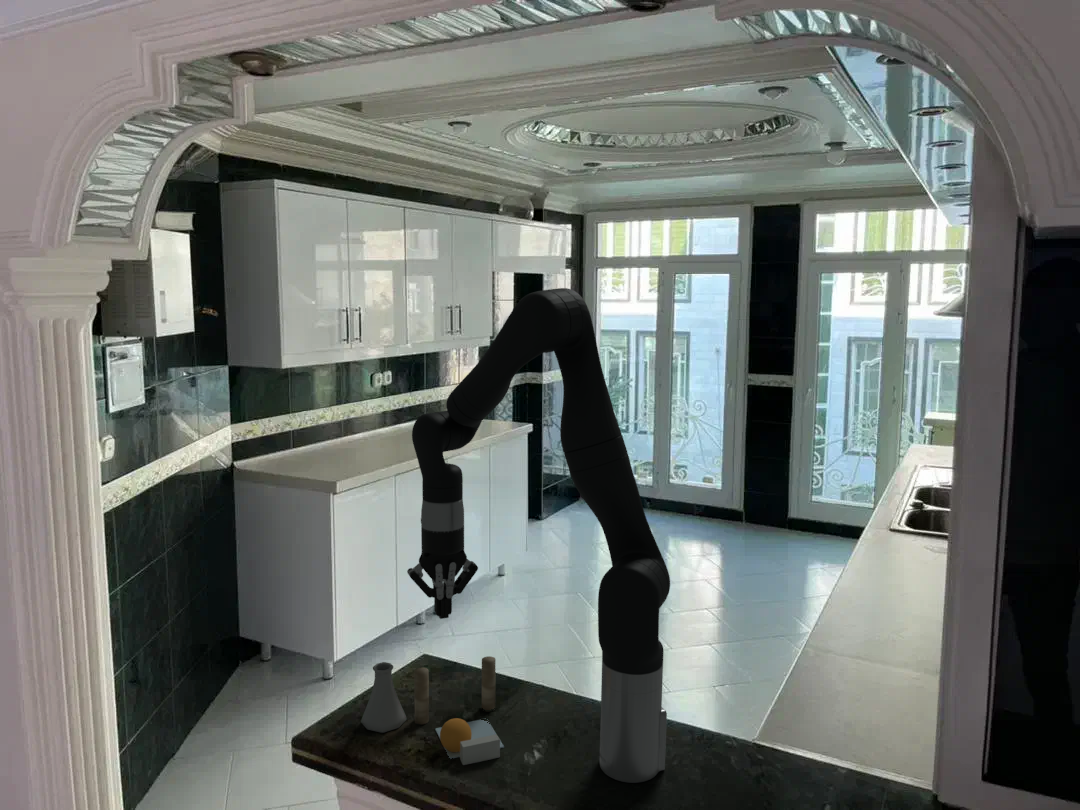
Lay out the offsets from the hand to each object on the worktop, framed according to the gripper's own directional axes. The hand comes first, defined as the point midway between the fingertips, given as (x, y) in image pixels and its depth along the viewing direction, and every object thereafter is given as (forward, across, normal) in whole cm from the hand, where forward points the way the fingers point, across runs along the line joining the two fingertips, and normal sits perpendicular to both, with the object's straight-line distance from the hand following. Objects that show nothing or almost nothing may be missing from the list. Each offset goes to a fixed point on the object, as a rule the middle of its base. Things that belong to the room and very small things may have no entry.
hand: (443, 616), depth 142 cm
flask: (+15, -12, -6) cm, 20 cm away
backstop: (+14, 0, -22) cm, 26 cm away
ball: (+12, -3, -18) cm, 22 cm away
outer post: (+14, -6, -8) cm, 18 cm away
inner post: (+14, +6, -8) cm, 18 cm away
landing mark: (+14, 0, -16) cm, 22 cm away
